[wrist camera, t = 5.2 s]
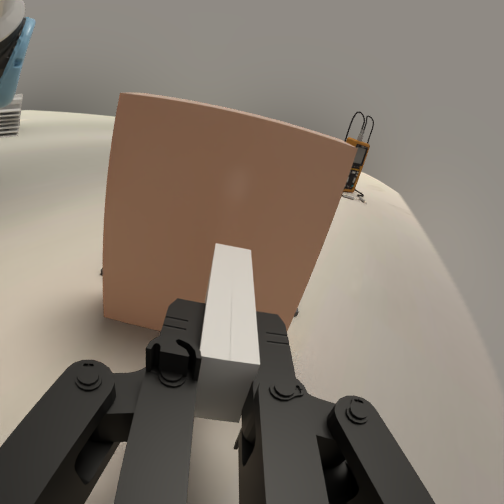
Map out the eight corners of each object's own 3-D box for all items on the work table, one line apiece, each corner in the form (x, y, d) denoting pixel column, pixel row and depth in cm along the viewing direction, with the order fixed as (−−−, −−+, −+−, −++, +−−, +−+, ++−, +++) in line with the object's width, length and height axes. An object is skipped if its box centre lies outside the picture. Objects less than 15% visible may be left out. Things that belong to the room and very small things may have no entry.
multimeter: (356, 205, 64) (386, 118, 55) (321, 187, 70) (347, 105, 61) (382, 205, 74) (409, 132, 65) (352, 188, 80) (375, 119, 71)
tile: (277, 353, 21) (357, 148, 14) (103, 317, 19) (120, 92, 13) (273, 322, 24) (339, 139, 17) (118, 289, 22) (140, 92, 16)
